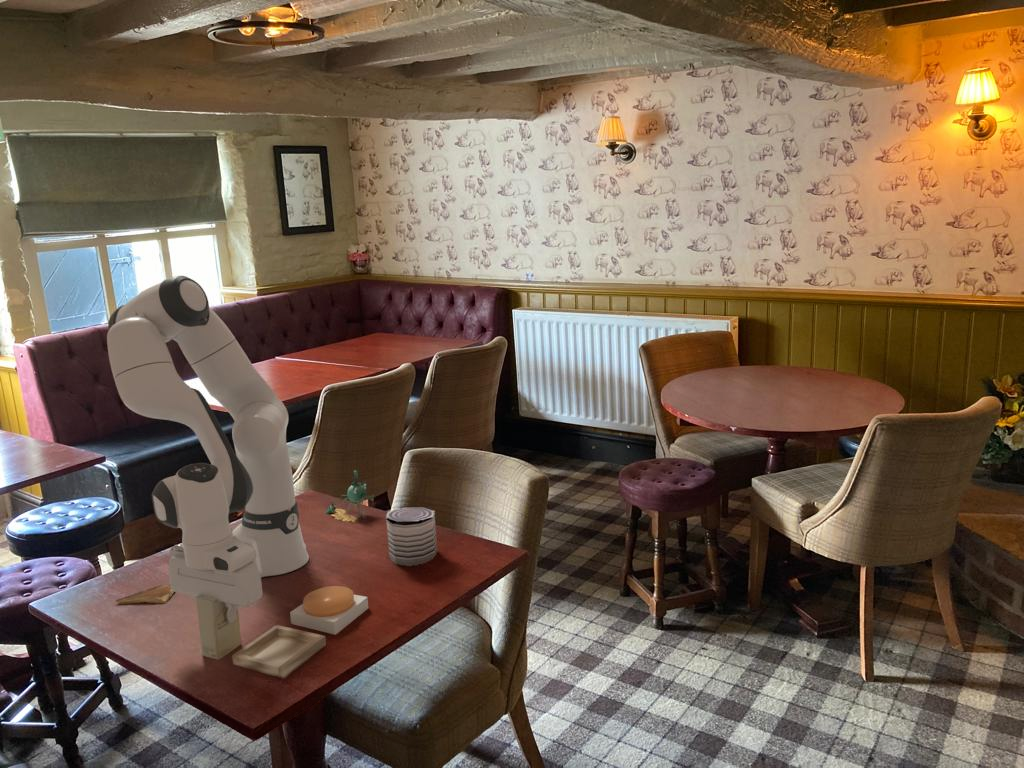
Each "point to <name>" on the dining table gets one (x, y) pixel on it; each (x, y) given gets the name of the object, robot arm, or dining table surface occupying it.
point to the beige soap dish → (279, 651)
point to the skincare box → (216, 628)
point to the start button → (328, 601)
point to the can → (411, 535)
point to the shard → (149, 596)
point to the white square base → (329, 617)
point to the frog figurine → (355, 495)
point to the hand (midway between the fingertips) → (219, 618)
